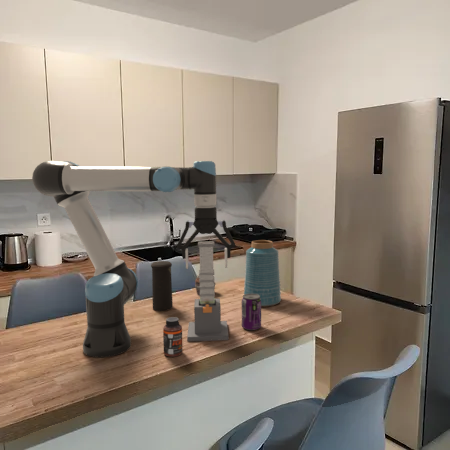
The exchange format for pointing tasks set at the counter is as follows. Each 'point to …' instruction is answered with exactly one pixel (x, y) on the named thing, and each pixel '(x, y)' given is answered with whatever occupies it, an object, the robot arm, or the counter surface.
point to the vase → (263, 272)
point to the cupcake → (198, 285)
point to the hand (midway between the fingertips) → (206, 267)
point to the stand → (207, 323)
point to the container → (161, 285)
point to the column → (206, 273)
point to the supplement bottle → (172, 337)
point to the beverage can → (251, 311)
